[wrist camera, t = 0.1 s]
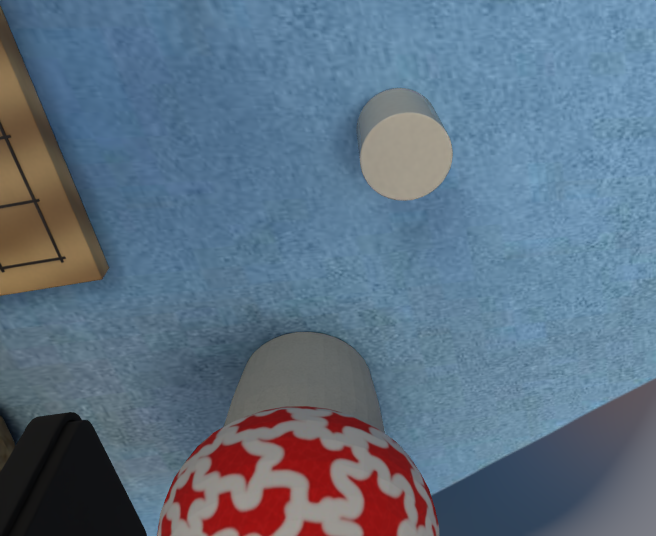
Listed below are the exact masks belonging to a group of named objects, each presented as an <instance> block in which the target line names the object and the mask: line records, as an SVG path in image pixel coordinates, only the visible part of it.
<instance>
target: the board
mask: <svg viewBox="0 0 656 536" xmlns="http://www.w3.org/2000/svg"><path fill="white" fill-rule="evenodd" d="M108 269H109V267H108V264H107V262H106V259H105V257H104V255H103V252H102V250H101V247H100V245H99V242H98V240H97V238H96V235H95V233H94V230H93V228H92V226H91V223H90V221H89V218H88V216H87V214H86V211H85V209H84V206H83V204H82V202H81V199H80V197H79V194H78V192H77V189H76V187H75V185H74V182H73V180H72V177H71V175H70V173H69V170H68V168H67V165H66V163H65V161H64V158H63V156H62V153H61V151H60V149H59V146H58V144H57V141H56V139H55V136H54V134H53V132H52V129H51V127H50V124H49V122H48V120H47V117H46V115H45V112H44V110H43V108H42V105H41V103H40V100H39V98H38V95H37V93H36V91H35V88H34V86H33V83H32V81H31V79H30V76H29V74H28V71H27V69H26V67H25V64H24V62H23V59H22V57H21V55H20V52H19V50H18V47H17V45H16V42H15V40H14V38H13V35H12V33H11V30H10V28H9V26H8V23H7V21H6V18H5V16H4V14H3V11H2V9H1V6H0V296H2V295H8V294H14V293H21V292H27V291H33V290H39V289H46V288H52V287H58V286H64V285H71V284H77V283H83V282H89V281H95V280H102V279H103V277H104V276H105V274H106V272H107V271H108Z"/></svg>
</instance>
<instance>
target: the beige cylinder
mask: <svg viewBox="0 0 656 536" xmlns="http://www.w3.org/2000/svg"><path fill="white" fill-rule="evenodd" d="M356 132H357V141H358V150H359V158H360V166H361V170H362V173H363V176H364V178H365V180H366V181H367V183H368V184H369V185H370V186H371V187H372V188H373V189H374V190H375V191H376V192H377V193H379V194H381V195H382V196H384V197H387V198H390V199H394V200H405V201H406V200H413V199H417V198H420V197H423V196H425V195H427V194H429V193H430V192H432V191H433V190H435V189H436V188H437V187H438V186H439V185H440V184H441V183H442V182H443V180H444V179H445V177H446V176H447V174H448V172H449V169H450V167H451V163H452V156H453V151H452V144H451V141H450V138H449V136H448V134H447V132H446V130H445V128H444V126H443V124H442V122H441V121H440V119H439V117H438V115H437V113H436V111H435V109H434V107H433V106H432V104H431V103H430V102H429V101H428V99H427V98H425V97H424V96H423V95H421V94H420V93H418V92H416V91H413V90H410V89H405V88H395V89H389V90H386V91H383V92H381V93H379V94H377V95H376V96H374V97H373V98H372V99H371V100H369V101H368V102H367V104H366V105H365V106H364V108H363V109H362V111H361V113H360V115H359V118H358V121H357V130H356Z"/></svg>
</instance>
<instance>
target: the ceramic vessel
mask: <svg viewBox="0 0 656 536" xmlns="http://www.w3.org/2000/svg"><path fill="white" fill-rule="evenodd" d="M14 448H15V443H14V440H13V438H12V436H11V434H10V432H9V430H8V428H7V426H6V424H5V422H4V419H3V418H2V417H1V416H0V472H1V470H2V468H3V466H4V465H5V463H6V461H7V460H8V458H9V456H10V455H11V453H12V451H13V449H14Z"/></svg>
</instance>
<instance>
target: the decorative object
mask: <svg viewBox="0 0 656 536" xmlns="http://www.w3.org/2000/svg"><path fill="white" fill-rule="evenodd" d="M157 536H439V524H438V520H437V515H436V511H435V507H434V504H433V501H432V497H431V494H430V491H429V488H428V486H427V484H426V483H425V481H424V479H423V477H422V475H421V473H420V472H419V470H418V469H417V467H416V465H415V464H414V462H413V461H412V459H411V458H410V456H409V455H408V454H407V453H406V452H405V451H404V450H403V449H402V448H401V447H400V445H399V444H398V443H397V442H396V441H394V440H393V439H392V438H390V437H389V436H387V435H386V434H385V431H384V426H383V421H382V416H381V412H380V407H379V403H378V399H377V395H376V392H375V388H374V385H373V382H372V378H371V375H370V372H369V368H368V366H367V365H366V363H365V361H364V359H363V358H362V357H361V356H360V354H359V353H358V352H357V351H356V350H355V349H353V348H352V347H351V346H350V345H348V344H347V343H345V342H343V341H341V340H339V339H337V338H335V337H332V336H329V335H326V334H321V333H314V332H296V333H291V334H286V335H282V336H280V337H277V338H274V339H272V340H270V341H269V342H267V343H265V344H264V345H262V346H261V347H260V348H259V349H258V350H256V351H255V352H254V353H253V355H252V356H251V357H250V359H249V360H248V362H247V364H246V366H245V369H244V371H243V374H242V376H241V379H240V381H239V383H238V386H237V388H236V391H235V393H234V396H233V399H232V402H231V405H230V408H229V411H228V415H227V418H226V421H225V424H224V427H223V428H221V429H219V430H218V431H216V432H214V433H213V434H212V435H210V436H209V437H208V438H207V439H206V440H205V441H203V442H202V443H201V444H200V445H199V446H198V447H197V448H196V449H195V451H194V452H193V453H192V454H191V456H190V457H189V458H188V459H187V461H186V462H185V463H184V465H183V466H182V468H181V469H180V470H179V472H178V473H177V475H176V476H175V478H174V480H173V482H172V485H171V487H170V489H169V492H168V494H167V497H166V499H165V502H164V505H163V508H162V510H161V513H160V519H159V526H158V533H157Z"/></svg>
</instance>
